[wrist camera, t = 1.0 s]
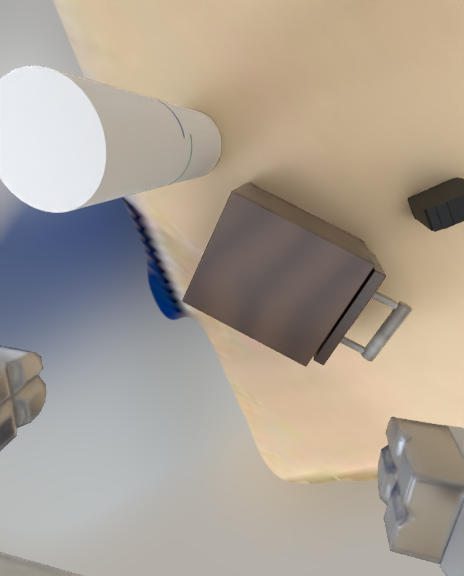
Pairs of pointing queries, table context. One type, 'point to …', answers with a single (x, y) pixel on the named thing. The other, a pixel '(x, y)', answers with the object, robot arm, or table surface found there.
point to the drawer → (353, 312)
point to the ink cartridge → (440, 205)
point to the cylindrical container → (94, 140)
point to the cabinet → (277, 273)
